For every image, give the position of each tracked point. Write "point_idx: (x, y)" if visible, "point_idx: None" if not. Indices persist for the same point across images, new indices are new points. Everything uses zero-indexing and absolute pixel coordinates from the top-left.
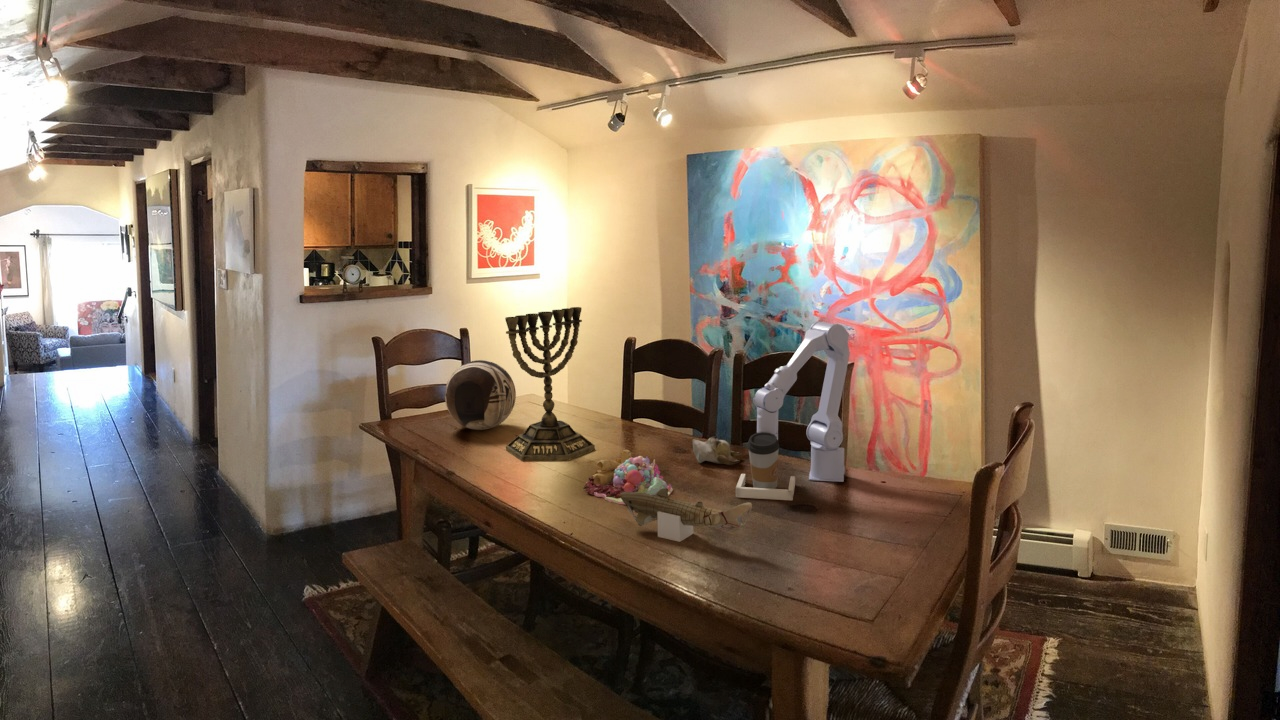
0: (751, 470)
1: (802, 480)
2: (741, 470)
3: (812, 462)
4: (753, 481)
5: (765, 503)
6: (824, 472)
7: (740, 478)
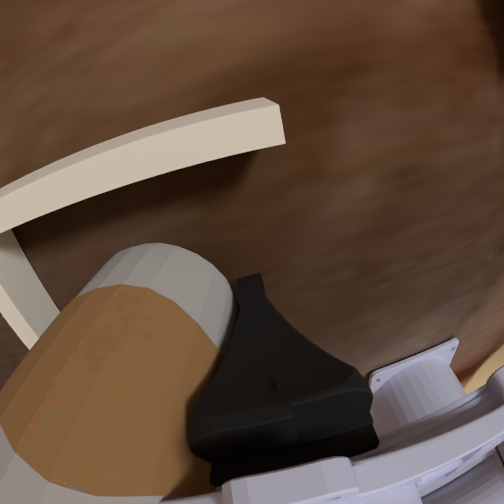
0: (31, 350)
1: (374, 354)
2: (484, 60)
3: (420, 416)
4: (84, 287)
5: (14, 336)
6: (379, 420)
7: (125, 154)
